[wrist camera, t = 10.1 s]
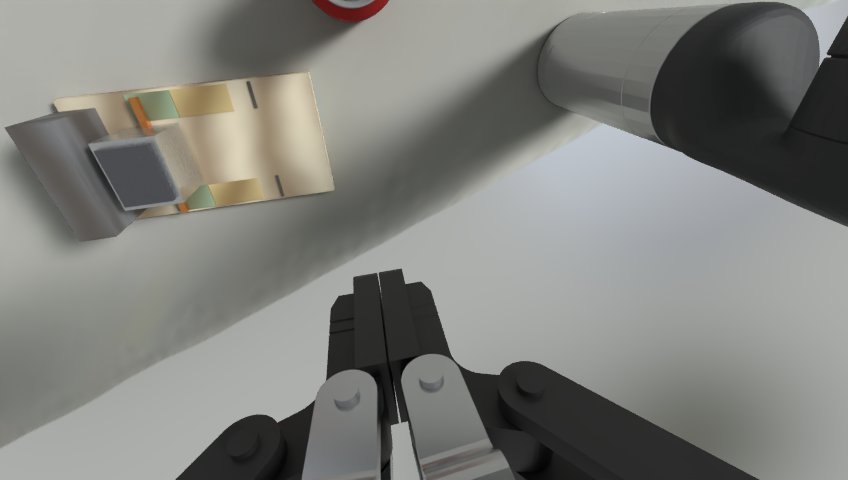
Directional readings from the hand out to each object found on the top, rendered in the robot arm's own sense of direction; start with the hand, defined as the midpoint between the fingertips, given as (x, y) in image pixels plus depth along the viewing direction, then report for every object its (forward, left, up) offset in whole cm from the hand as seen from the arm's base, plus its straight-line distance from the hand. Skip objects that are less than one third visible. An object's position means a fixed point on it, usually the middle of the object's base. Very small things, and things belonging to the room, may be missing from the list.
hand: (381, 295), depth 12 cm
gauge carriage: (+19, +2, -29) cm, 35 cm away
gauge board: (+15, +2, -31) cm, 34 cm away
